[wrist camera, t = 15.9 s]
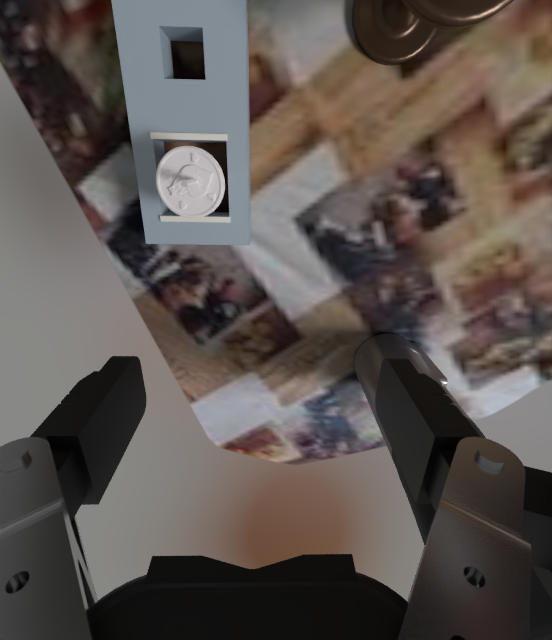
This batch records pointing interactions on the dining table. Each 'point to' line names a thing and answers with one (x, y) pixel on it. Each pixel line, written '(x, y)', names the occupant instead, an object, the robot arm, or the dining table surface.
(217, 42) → the socket block
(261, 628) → the robot arm
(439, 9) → the candlestick
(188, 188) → the smoothie
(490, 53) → the dining table surface
